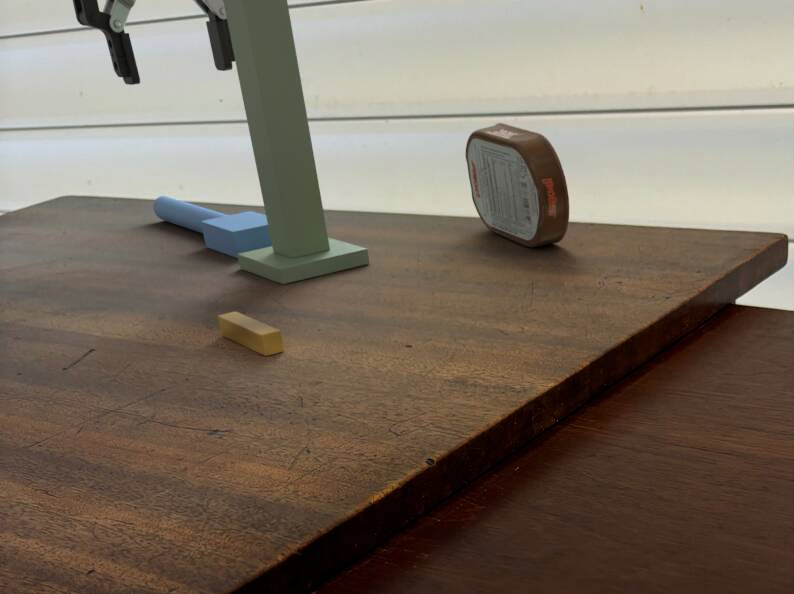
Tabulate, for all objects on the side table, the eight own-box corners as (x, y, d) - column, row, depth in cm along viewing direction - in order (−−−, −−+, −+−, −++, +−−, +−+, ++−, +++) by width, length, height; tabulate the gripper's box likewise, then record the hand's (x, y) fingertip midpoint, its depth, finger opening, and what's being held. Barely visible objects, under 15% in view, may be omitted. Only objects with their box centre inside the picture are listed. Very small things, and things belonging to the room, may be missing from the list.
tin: (575, 251, 95) (568, 135, 90) (540, 257, 94) (532, 141, 89) (499, 221, 106) (489, 117, 102) (467, 226, 105) (456, 122, 100)
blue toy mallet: (143, 224, 116) (137, 200, 115) (190, 215, 118) (184, 191, 117) (238, 258, 101) (232, 231, 100) (290, 247, 103) (285, 220, 102)
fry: (222, 335, 82) (217, 315, 81) (240, 331, 83) (235, 310, 82) (265, 356, 77) (261, 335, 77) (284, 351, 78) (280, 330, 77)
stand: (222, 262, 100) (118, -201, 82) (305, 244, 104) (223, -203, 86) (302, 292, 90) (204, -228, 72) (391, 270, 94) (319, -229, 76)
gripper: (191, -158, 98) (236, 64, 108) (20, -150, 91) (84, 86, 101) (228, -166, 93) (272, 68, 103) (51, -158, 86) (115, 91, 96)
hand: (179, 76), depth 102 cm, fingers open, 8 cm apart
